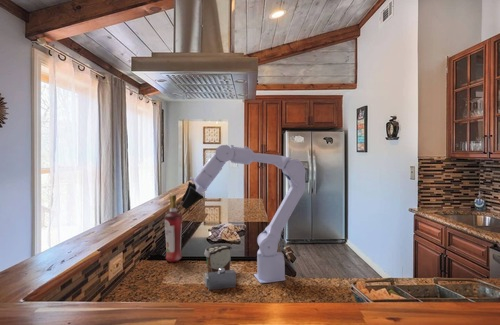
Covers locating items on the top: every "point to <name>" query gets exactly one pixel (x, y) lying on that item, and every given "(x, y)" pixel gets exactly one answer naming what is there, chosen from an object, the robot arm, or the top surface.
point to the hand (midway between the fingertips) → (184, 204)
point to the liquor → (173, 232)
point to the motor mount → (220, 279)
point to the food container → (218, 256)
